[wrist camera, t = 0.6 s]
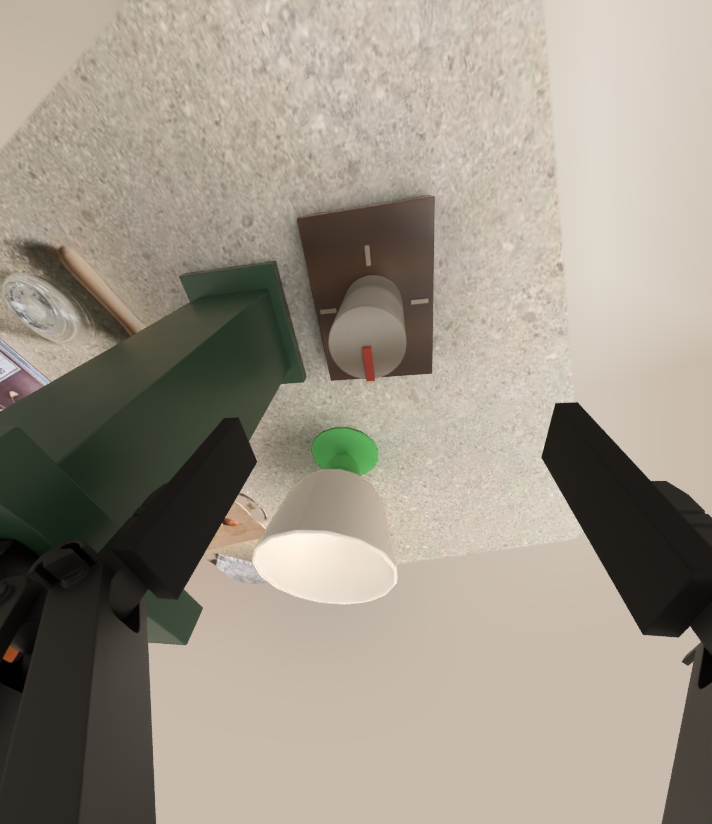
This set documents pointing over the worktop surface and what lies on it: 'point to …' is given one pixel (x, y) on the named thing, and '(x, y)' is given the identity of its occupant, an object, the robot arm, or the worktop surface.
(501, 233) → the worktop surface
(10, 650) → the button
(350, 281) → the dial panel
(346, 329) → the dial
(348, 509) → the cup
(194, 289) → the control post
